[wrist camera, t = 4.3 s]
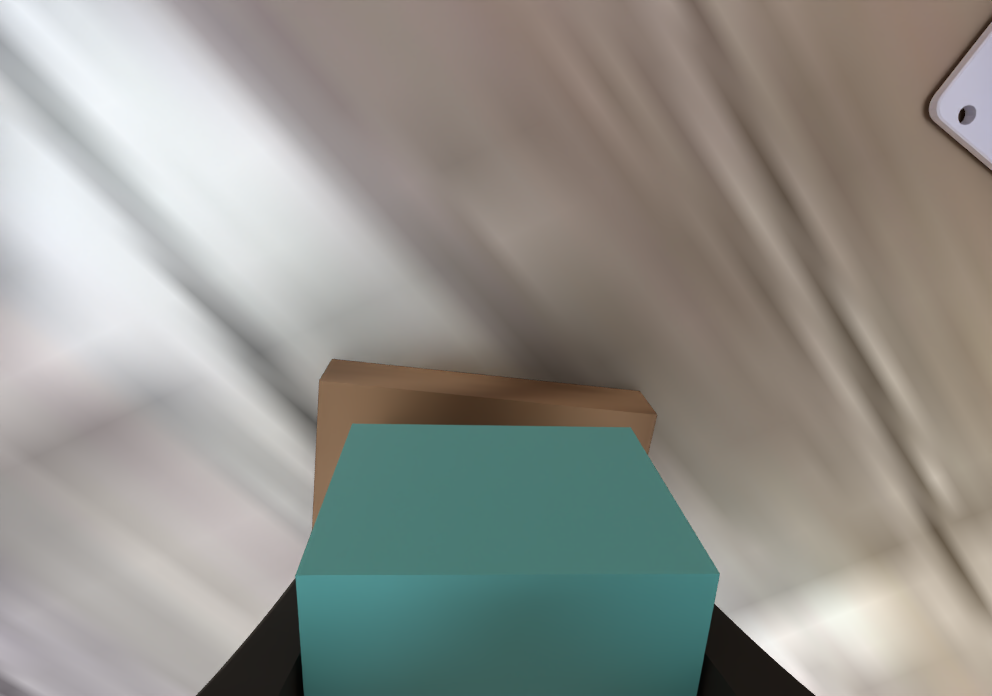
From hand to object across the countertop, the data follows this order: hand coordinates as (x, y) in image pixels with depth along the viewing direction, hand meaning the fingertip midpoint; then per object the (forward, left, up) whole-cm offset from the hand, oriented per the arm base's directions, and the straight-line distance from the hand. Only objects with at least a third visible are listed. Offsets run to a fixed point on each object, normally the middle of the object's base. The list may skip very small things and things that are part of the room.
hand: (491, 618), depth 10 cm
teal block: (0, 0, -2) cm, 2 cm away
